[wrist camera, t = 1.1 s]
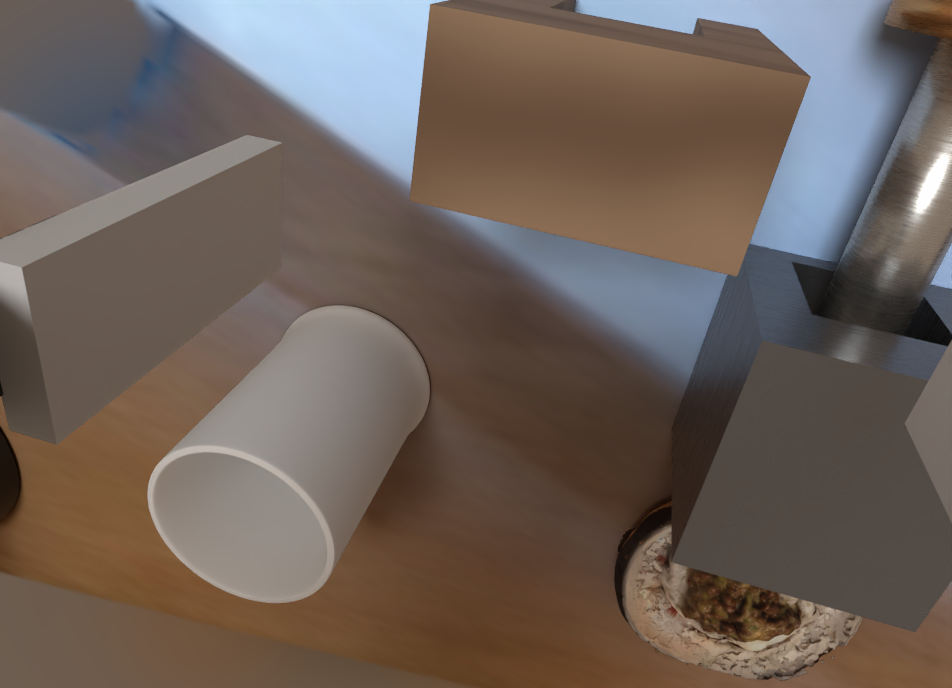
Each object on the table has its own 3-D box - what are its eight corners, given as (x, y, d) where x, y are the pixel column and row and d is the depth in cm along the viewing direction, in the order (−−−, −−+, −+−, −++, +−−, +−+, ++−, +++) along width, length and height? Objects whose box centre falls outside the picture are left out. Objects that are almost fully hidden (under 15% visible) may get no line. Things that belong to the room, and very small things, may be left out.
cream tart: (552, 591, 43) (541, 649, 39) (678, 411, 35) (679, 462, 32) (775, 699, 43) (784, 766, 39) (952, 541, 35) (984, 608, 31)
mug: (417, 501, 41) (333, 680, 31) (281, 463, 43) (157, 624, 32) (439, 325, 36) (344, 475, 25) (281, 287, 37) (129, 416, 26)
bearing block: (860, 478, 34) (915, 631, 26) (671, 429, 35) (671, 562, 27) (964, 292, 29) (1069, 414, 21) (739, 241, 30) (762, 340, 22)
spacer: (714, 161, 29) (737, 276, 19) (499, 116, 30) (409, 200, 20) (757, 29, 26) (810, 77, 16) (520, -15, 27) (430, 4, 17)
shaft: (889, 370, 31) (935, 459, 25) (739, 333, 32) (753, 413, 26) (1077, 13, 24) (1199, 31, 18) (877, -21, 24) (936, -14, 19)
